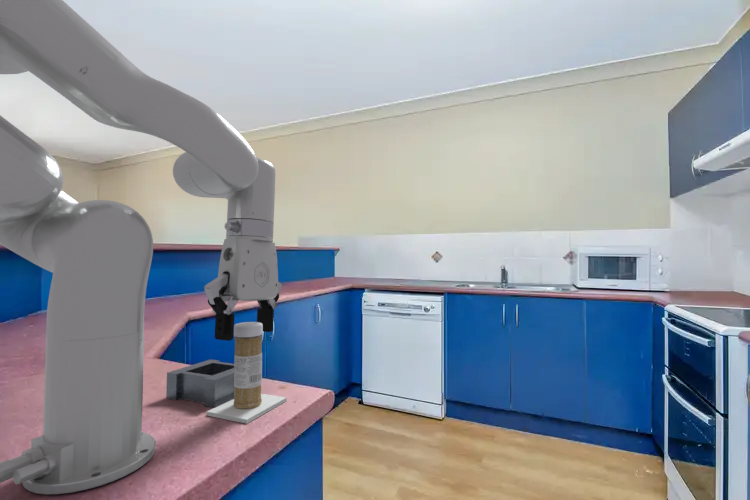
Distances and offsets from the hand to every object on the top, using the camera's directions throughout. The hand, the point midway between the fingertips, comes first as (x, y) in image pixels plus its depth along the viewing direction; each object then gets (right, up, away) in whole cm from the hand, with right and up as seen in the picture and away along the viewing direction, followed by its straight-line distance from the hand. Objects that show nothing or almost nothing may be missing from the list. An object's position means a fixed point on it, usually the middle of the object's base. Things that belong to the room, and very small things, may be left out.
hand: (245, 335), depth 62 cm
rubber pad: (0, -12, 0) cm, 12 cm away
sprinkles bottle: (0, -12, 0) cm, 12 cm away
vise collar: (-9, -12, +7) cm, 17 cm away
